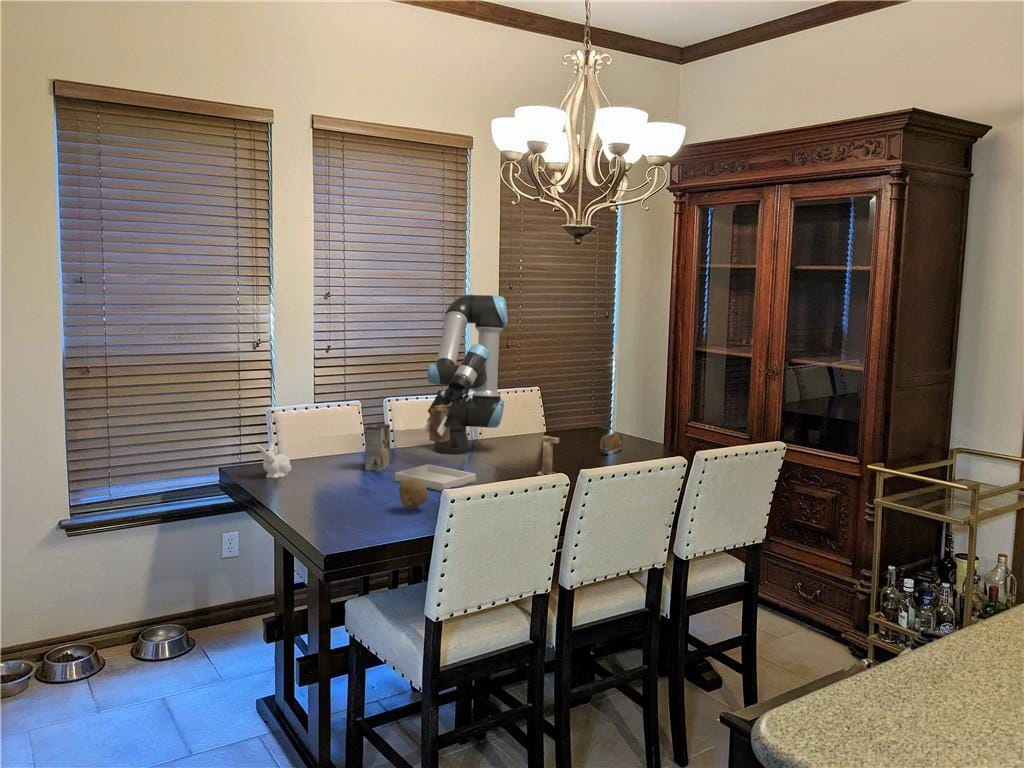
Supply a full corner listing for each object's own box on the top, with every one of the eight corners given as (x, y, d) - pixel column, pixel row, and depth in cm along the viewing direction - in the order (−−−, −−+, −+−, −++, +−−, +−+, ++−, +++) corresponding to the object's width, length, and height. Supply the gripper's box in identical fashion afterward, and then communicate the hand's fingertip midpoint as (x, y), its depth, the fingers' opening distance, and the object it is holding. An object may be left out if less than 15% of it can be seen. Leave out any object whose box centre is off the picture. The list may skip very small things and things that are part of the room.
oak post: (533, 476, 300) (535, 437, 298) (544, 472, 306) (545, 434, 304) (551, 479, 296) (552, 439, 294) (561, 475, 302) (562, 437, 300)
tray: (394, 481, 286) (394, 472, 286) (428, 472, 301) (428, 464, 300) (443, 492, 274) (443, 483, 273) (475, 482, 288) (476, 473, 288)
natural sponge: (428, 506, 257) (429, 475, 256) (426, 514, 248) (427, 482, 247) (400, 505, 257) (400, 474, 255) (397, 513, 248) (397, 481, 246)
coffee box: (373, 464, 309) (374, 423, 307) (389, 466, 308) (390, 424, 306) (364, 470, 300) (365, 427, 298) (381, 471, 299) (381, 428, 297)
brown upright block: (429, 440, 285) (430, 405, 283) (438, 438, 289) (439, 404, 287) (440, 442, 282) (441, 407, 280) (449, 440, 286) (450, 405, 284)
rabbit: (271, 480, 281) (271, 446, 280) (252, 476, 286) (252, 443, 284) (297, 474, 292) (297, 441, 290) (278, 470, 296) (277, 437, 295)
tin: (604, 456, 337) (605, 436, 336) (597, 455, 339) (598, 435, 338) (622, 451, 349) (623, 432, 348) (616, 450, 351) (617, 431, 350)
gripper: (487, 390, 291) (458, 442, 279) (447, 385, 301) (417, 435, 289) (478, 376, 286) (448, 429, 274) (438, 371, 296) (407, 422, 284)
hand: (432, 432), depth 282 cm, fingers closed on brown upright block, 5 cm apart
